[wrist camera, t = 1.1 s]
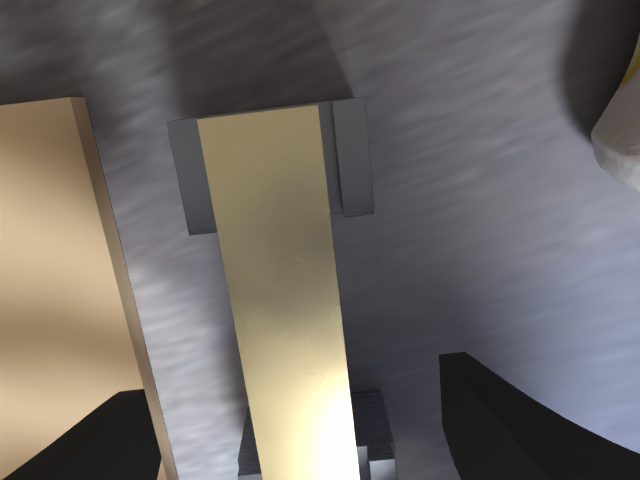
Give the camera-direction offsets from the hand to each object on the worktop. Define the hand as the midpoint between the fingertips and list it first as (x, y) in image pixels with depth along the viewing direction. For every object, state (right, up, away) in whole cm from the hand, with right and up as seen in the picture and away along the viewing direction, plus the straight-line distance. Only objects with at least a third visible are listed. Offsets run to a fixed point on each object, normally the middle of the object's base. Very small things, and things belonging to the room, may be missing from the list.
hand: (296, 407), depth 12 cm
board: (-10, +1, +6) cm, 12 cm away
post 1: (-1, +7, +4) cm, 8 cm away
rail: (0, +1, +3) cm, 3 cm away
